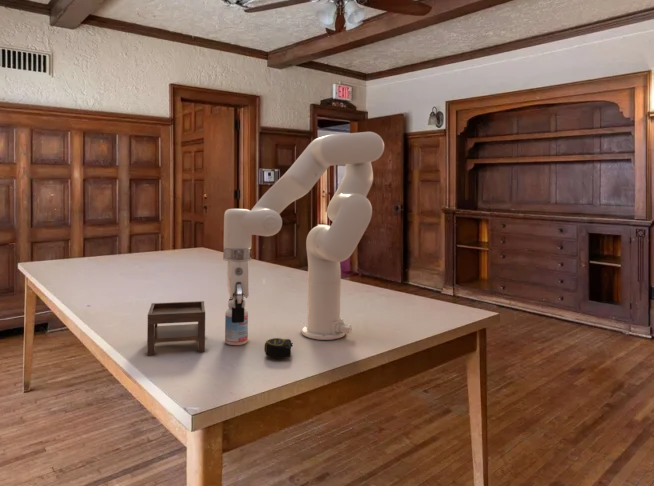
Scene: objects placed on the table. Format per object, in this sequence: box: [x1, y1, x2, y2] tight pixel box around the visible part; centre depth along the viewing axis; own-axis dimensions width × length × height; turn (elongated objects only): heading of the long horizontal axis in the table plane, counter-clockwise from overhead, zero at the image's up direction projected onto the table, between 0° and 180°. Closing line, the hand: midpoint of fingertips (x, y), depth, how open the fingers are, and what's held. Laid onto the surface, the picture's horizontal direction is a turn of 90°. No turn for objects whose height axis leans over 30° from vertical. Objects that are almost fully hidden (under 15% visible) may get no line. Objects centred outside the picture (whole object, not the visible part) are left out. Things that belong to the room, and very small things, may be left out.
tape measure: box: [263, 337, 294, 359], centre depth 116 cm, size 7×7×4 cm
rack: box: [146, 300, 206, 356], centre depth 122 cm, size 14×12×10 cm
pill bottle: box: [224, 299, 249, 346], centre depth 126 cm, size 6×6×11 cm
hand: (236, 317), depth 126 cm, fingers open, 9 cm apart
